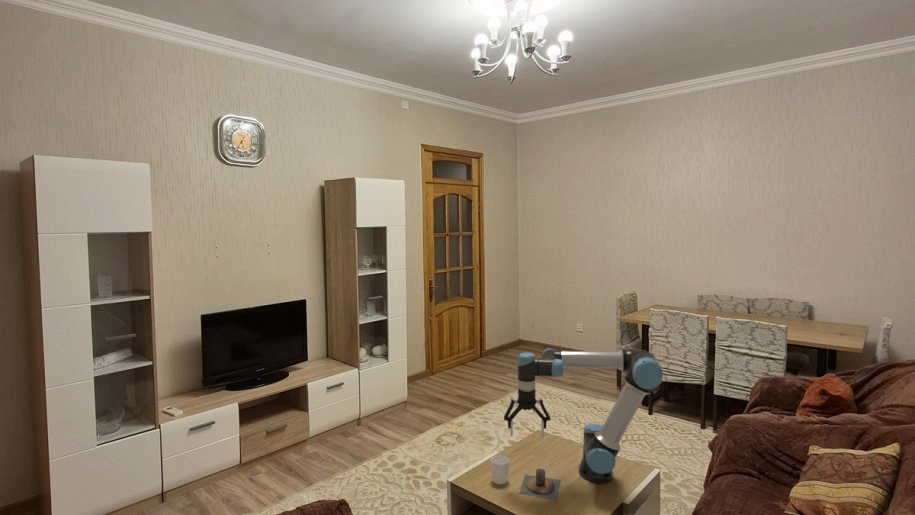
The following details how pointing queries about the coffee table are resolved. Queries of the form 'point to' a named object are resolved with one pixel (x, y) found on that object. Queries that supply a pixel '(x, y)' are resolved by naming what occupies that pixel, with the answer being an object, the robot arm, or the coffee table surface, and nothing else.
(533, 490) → the lid
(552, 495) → the mat
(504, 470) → the white cup
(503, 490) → the coffee table surface
